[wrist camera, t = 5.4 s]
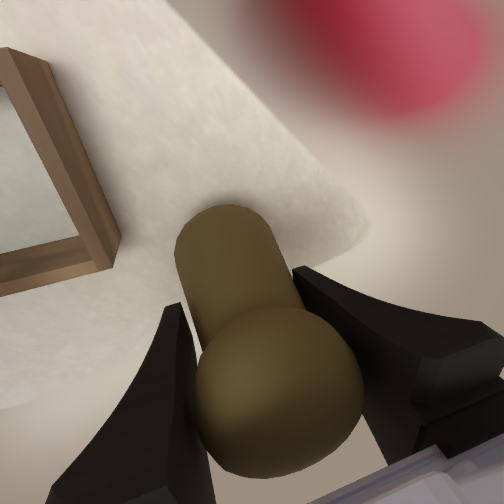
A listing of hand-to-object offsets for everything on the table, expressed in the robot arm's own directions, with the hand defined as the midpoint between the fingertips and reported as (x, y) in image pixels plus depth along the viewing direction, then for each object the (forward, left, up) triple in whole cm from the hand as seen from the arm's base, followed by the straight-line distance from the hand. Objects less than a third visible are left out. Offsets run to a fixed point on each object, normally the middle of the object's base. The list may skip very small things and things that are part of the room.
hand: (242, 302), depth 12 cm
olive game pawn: (0, 0, -5) cm, 5 cm away
